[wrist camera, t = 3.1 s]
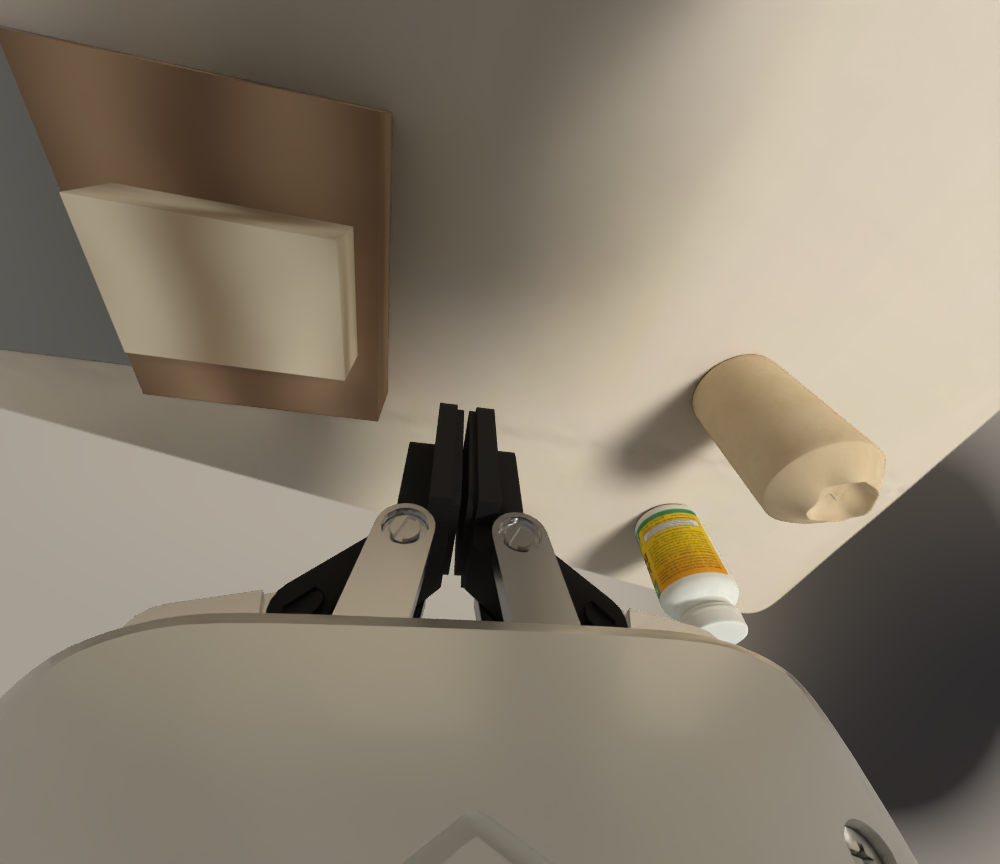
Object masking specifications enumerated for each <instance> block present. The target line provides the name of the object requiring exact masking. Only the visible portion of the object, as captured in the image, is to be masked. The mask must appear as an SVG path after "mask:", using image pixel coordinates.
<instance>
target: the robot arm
mask: <svg viewBox="0 0 1000 864" xmlns="http://www.w3.org/2000/svg"><path fill="white" fill-rule="evenodd" d="M463 432H464V410H458V405H454V404H446V403H440V409H439V417H438V425H437V434H436V442H435V444H426V443H417V442H410V444H409V448H408V453H407V458H406V463H405V468H404V473H403V478H402V483H401V488H400V493H399V498H398V503H397V504H395V505H393V506H390V507H388V508H386V509H385V510H384V511H382V512H381V513H380V514H379V516H378V517H377V519H376V520H375V522H374V525H373V527H372V529H371V531H370V533H369V535H368V537H366V538H364V539H363V540H361V541H359V542H358V543H356V544H354V545H352V546H351V547H349V548H347V549H346V550H344V551H342V552H340V553H339V554H337V555H335V556H334V557H332V558H330V559H329V560H327V561H325V562H324V563H322V564H320V565H318V566H317V567H315V568H313V569H311V570H310V571H308V572H306V573H305V574H303V575H301V576H300V577H298V578H296V579H294V580H293V581H291V582H289V583H287V584H286V585H285V586H283V587H282V588H281V589H279V590H278V591H277V592H276V593H269V594H263V590H258V591H251V592H244V593H237V594H230V595H224V596H217V597H210V598H203V599H196V600H190V601H183V602H176V603H169V604H163V605H160V606H156V607H153V608H150V609H148V610H146V611H144V612H142V613H140V614H138V615H137V616H135V617H134V618H133V619H132V620H130V621H129V622H128V623H127V624H126V625H125V626H124V627H123V628H120V629H117V630H113V631H110V632H107V633H104V634H101V635H98V636H95V637H93V638H90V639H87V640H85V641H83V642H80V643H78V644H75V645H73V646H71V647H68V648H67V649H65V650H63V651H61V652H59V653H57V654H55V655H54V656H52V657H50V658H49V659H47V660H46V661H44V662H43V663H41V664H40V665H39V666H37V667H36V668H34V669H33V670H32V671H30V672H29V673H28V674H27V675H26V676H24V677H23V678H22V679H21V680H19V681H18V682H17V683H16V684H15V685H14V686H13V687H12V688H11V689H9V690H8V691H7V692H6V693H5V694H4V695H3V696H2V697H1V698H0V864H918V863H917V861H916V859H915V858H914V856H913V854H912V853H911V851H910V849H909V847H908V846H907V844H906V842H905V841H904V839H903V837H902V835H901V834H900V832H899V830H898V829H897V828H896V826H895V824H894V822H893V820H892V819H891V817H890V815H889V814H888V812H887V811H886V809H885V807H884V806H883V804H882V802H881V801H880V799H879V797H878V796H877V794H876V793H875V791H874V790H873V788H872V786H871V785H870V783H869V781H868V780H867V778H866V777H865V775H864V773H863V772H862V770H861V768H860V767H859V765H858V764H857V762H856V760H855V759H854V757H853V756H852V754H851V752H850V751H849V750H848V748H847V746H846V745H845V743H844V742H843V740H842V739H841V737H840V736H839V734H838V733H837V731H836V730H835V729H834V727H833V726H832V724H831V723H830V721H829V720H828V718H827V717H826V715H825V714H824V713H823V711H822V710H821V708H820V707H819V706H818V704H817V703H816V702H815V700H814V699H813V698H812V697H811V695H810V694H809V693H808V692H807V691H806V689H805V688H804V687H803V686H802V685H801V684H800V683H799V682H798V681H797V680H796V679H795V678H794V677H793V676H792V675H791V674H789V673H788V672H787V671H786V670H784V669H783V668H782V667H780V666H778V665H777V664H775V663H773V662H772V661H770V660H768V659H766V658H764V657H763V656H761V655H759V654H757V653H754V652H752V651H750V650H747V649H745V648H743V647H740V646H738V645H735V644H732V643H729V642H726V641H722V640H719V639H717V638H716V637H715V636H714V635H712V634H711V633H710V632H708V631H706V630H704V629H702V628H699V627H696V626H692V625H689V624H685V623H681V622H678V621H674V620H670V619H667V618H663V617H660V616H656V615H653V614H649V613H645V612H642V611H638V610H634V609H631V608H629V610H628V611H627V612H626V611H622V610H621V609H620V608H619V607H618V606H617V605H616V604H615V603H614V602H613V601H612V600H611V599H610V598H608V597H607V596H606V595H605V594H604V593H602V592H601V591H600V590H599V589H597V588H596V587H595V586H594V585H592V584H591V583H590V582H588V581H587V580H586V579H585V578H583V577H582V576H581V575H580V574H578V573H577V572H576V571H575V570H573V569H572V568H571V567H570V566H568V565H567V564H566V563H565V562H563V561H562V560H561V559H560V558H558V557H557V556H556V555H555V553H554V550H553V548H552V545H551V542H550V540H549V537H548V534H547V532H546V530H545V528H544V526H543V525H542V524H541V523H540V522H539V521H538V520H537V519H535V518H533V517H532V516H530V515H527V514H524V513H523V507H522V500H521V493H520V485H519V478H518V470H517V463H516V456H515V453H512V452H502V451H498V448H497V436H496V424H495V411H494V409H487V408H479V407H477V408H476V412H473V411H469V415H468V422H467V428H466V434H465V440H464V447H463ZM455 534H456V542H455V566H454V567H455V569H454V575H461V587H463V588H465V590H466V591H467V592H469V593H470V594H471V595H472V596H473V597H474V598H475V599H474V610H475V616H476V621H473V620H448V619H425V618H424V619H423V618H422V616H423V612H424V608H425V603H426V598H428V597H429V596H430V595H431V594H433V593H434V592H435V591H437V590H438V589H439V588H440V587H441V582H442V576H443V575H444V574H445V575H448V574H449V569H450V563H451V557H452V551H453V545H454V540H455Z"/></svg>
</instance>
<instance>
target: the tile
mask: <svg viewBox="0 0 1000 864" xmlns="http://www.w3.org/2000/svg"><path fill="white" fill-rule="evenodd" d="M59 193H60V196H61V198H62V201H63V203H64V205H65V208H66V210H67V213H68V215H69V218H70V220H71V222H72V225H73V227H74V230H75V232H76V235H77V237H78V239H79V242H80V244H81V247H82V249H83V252H84V254H85V257H86V259H87V261H88V264H89V266H90V269H91V271H92V274H93V276H94V278H95V281H96V283H97V286H98V288H99V291H100V293H101V295H102V298H103V300H104V303H105V305H106V308H107V310H108V312H109V315H110V317H111V320H112V322H113V325H114V327H115V329H116V332H117V334H118V337H119V339H120V342H121V344H122V347H123V349H124V351H125V352H126V353H133V354H141V355H149V356H157V357H164V358H172V359H180V360H188V361H195V362H203V363H211V364H219V365H226V366H234V367H242V368H250V369H257V370H265V371H273V372H280V373H288V374H296V375H304V376H311V377H319V378H327V379H335V380H342V381H345V379H346V377H347V375H348V373H349V371H350V370H351V368H352V366H353V364H354V362H355V360H356V358H357V356H358V351H357V321H356V292H355V262H354V232H353V226H348V225H342V224H337V223H331V222H326V221H320V220H315V219H309V218H304V217H298V216H293V215H287V214H282V213H276V212H271V211H265V210H260V209H254V208H249V207H243V206H237V205H232V204H226V203H221V202H215V201H210V200H204V199H199V198H193V197H188V196H182V195H177V194H171V193H166V192H160V191H155V190H149V189H144V188H138V187H132V186H127V185H121V184H116V183H108V184H102V185H96V186H91V187H85V188H79V189H74V190H68V191H62V192H59Z"/></svg>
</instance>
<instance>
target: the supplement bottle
mask: <svg viewBox="0 0 1000 864" xmlns="http://www.w3.org/2000/svg"><path fill="white" fill-rule="evenodd" d="M635 536H636V539H637V542H638V545H639V547H640V550H641V552H642V555H643V558H644V560H645V563H646V566H647V569H648V571H649V574H650V577H651V580H652V582H653V585H654V588H655V591H656V593H657V596H658V599H659V602H660V604H661V606H662V608H663V610H664V611H665V612H666V614H668V615H669V616H670V617H671V618H673V619H675V620H677V621H679V622H681V623H685V624H689V625H692V626H696V627H699V628H702V629H704V630H706V631H708V632H710V633H711V634H712V635H714V636H715V637H716V638H717V639H719V640H722V641H726V642H729V643H732V644H736V643H738V642H740V641H741V640H742V639H744V638H745V637H746V635H747V634H748V627H747V625H746V623H745V621H744V619H743V617H742V615H741V612H740V611H739V610H738V609H737V608H736V607H735V605H736V603H737V601H738V597H739V590H738V586H737V584H736V582H735V580H734V578H733V576H732V575H731V573H730V571H729V569H728V567H727V565H726V564H725V562H724V560H723V558H722V556H721V555H720V553H719V551H718V549H717V547H716V546H715V544H714V542H713V540H712V538H711V536H710V535H709V533H708V531H707V529H706V527H705V525H704V523H703V521H702V520H701V518H700V516H699V515H698V513H697V512H696V511H695V510H694V509H692V508H690V507H688V506H685V505H679V504H667V505H662V506H658V507H656V508H654V509H652V510H650V511H648V512H647V513H645V514H644V515H643V516H642V517H641V518H640V519H639V521H638V522H637V524H636V527H635Z"/></svg>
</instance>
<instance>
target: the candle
mask: <svg viewBox="0 0 1000 864" xmlns="http://www.w3.org/2000/svg"><path fill="white" fill-rule="evenodd" d="M692 404H693V409H694V412H695V415H696V416H697V418H698V420H699V421H700V423H701V424H702V426H703V427H704V428H705V430H706V431H707V432H708V434H709V435H710V437H711V438H712V439H713V441H714V442H715V443H716V445H717V446H718V448H719V449H720V450H721V452H722V453H723V454H724V456H725V457H726V459H727V460H728V461H729V463H730V464H731V465H732V467H733V468H734V470H735V471H736V472H737V474H738V475H739V476H740V478H741V479H742V481H743V482H744V483H745V485H746V486H747V487H748V489H749V490H750V492H751V493H752V494H753V496H754V497H755V498H756V500H757V501H758V503H759V504H760V505H761V507H762V508H763V509H764V511H765V512H766V513H767V514H768V515H769V516H771V517H772V518H774V519H777V520H780V521H785V522H791V523H801V524H811V523H823V522H838V521H843V520H846V519H850V518H853V517H858V516H863V515H865V514H867V513H869V512H870V511H871V510H872V508H873V506H874V504H875V503H876V501H877V499H878V496H879V490H880V486H881V482H882V478H883V474H884V469H885V461H886V460H885V455H884V453H883V451H882V450H881V449H880V448H879V447H878V446H876V445H875V444H874V443H873V442H872V441H870V440H869V439H868V438H867V437H866V436H864V435H863V434H862V433H861V432H860V431H858V430H857V429H856V428H855V427H853V426H852V425H851V424H850V423H849V422H847V421H846V420H845V419H844V418H843V417H841V416H840V415H839V414H838V413H836V412H835V411H834V410H833V409H832V408H830V407H829V406H828V405H827V404H826V403H824V402H823V401H822V400H821V399H819V398H818V397H817V396H816V395H815V394H813V393H812V392H811V391H810V390H809V389H807V388H806V387H805V386H804V385H802V384H801V383H800V382H799V381H798V380H796V379H795V378H794V377H793V376H792V375H790V374H789V373H788V372H787V371H785V370H784V369H783V368H782V367H780V366H779V365H778V364H776V363H775V362H774V361H772V360H771V359H768V358H766V357H764V356H761V355H755V354H748V355H741V356H737V357H734V358H731V359H728V360H726V361H724V362H722V363H720V364H719V365H717V366H716V367H714V368H713V369H712V370H710V371H709V372H708V373H707V374H706V375H705V376H704V377H703V379H702V380H701V381H700V383H699V384H698V386H697V388H696V390H695V392H694V395H693V402H692Z"/></svg>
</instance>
